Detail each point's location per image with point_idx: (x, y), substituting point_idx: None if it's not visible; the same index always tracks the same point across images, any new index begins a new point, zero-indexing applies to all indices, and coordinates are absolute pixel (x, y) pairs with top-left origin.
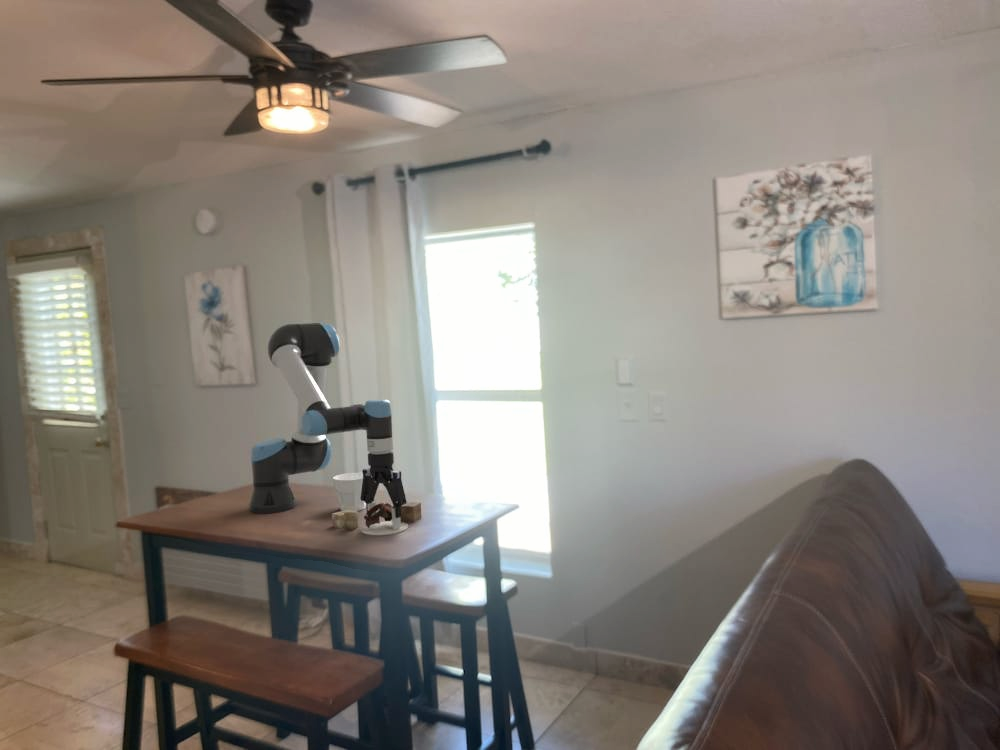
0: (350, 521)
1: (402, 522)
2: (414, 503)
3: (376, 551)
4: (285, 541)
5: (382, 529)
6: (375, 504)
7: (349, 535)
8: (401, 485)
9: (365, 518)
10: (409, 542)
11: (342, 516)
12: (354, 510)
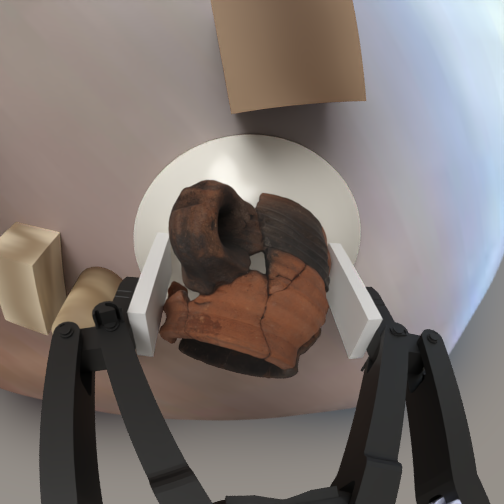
0: None
1: (282, 144)
2: (316, 11)
3: (357, 391)
4: None
5: None
6: (148, 304)
7: (178, 349)
8: (461, 437)
9: (211, 364)
10: (417, 326)
11: (48, 319)
12: (66, 318)
